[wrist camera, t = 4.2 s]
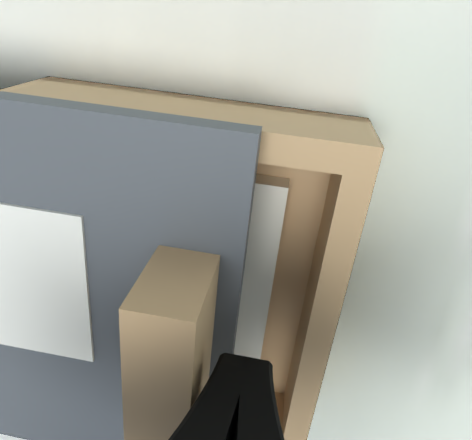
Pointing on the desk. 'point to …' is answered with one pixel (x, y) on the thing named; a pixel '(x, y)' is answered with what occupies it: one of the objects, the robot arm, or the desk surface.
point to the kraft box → (280, 226)
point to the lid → (116, 264)
